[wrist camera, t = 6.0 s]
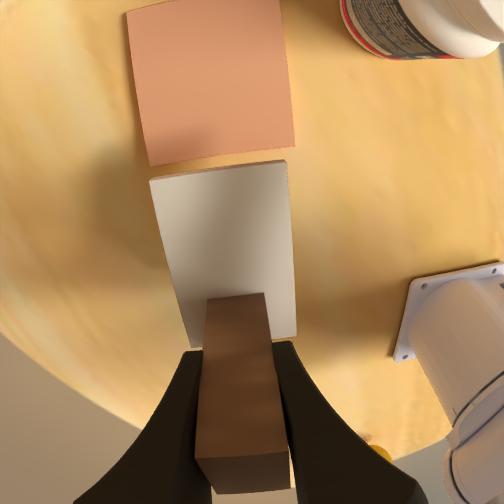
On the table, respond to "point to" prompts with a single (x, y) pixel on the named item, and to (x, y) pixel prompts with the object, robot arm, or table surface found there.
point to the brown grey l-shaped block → (234, 311)
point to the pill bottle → (425, 27)
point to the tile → (210, 78)
